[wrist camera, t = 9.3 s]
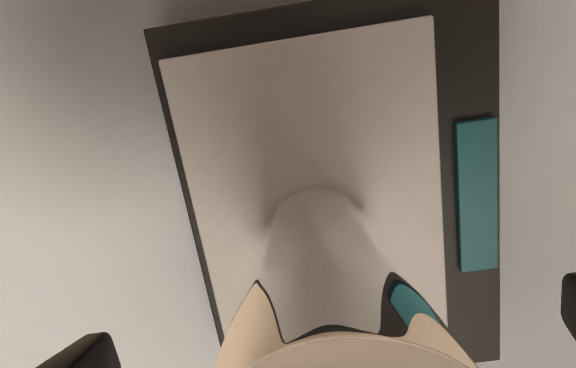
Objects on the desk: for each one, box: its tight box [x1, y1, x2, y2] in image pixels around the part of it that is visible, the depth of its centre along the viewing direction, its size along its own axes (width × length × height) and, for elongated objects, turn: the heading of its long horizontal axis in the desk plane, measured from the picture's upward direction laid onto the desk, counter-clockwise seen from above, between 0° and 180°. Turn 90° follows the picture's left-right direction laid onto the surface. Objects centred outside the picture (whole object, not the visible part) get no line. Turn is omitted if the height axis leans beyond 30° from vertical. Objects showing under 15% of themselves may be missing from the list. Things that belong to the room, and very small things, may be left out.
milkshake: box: [213, 186, 478, 368], centre depth 8 cm, size 4×5×10 cm
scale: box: [144, 0, 500, 363], centre depth 14 cm, size 10×13×3 cm
